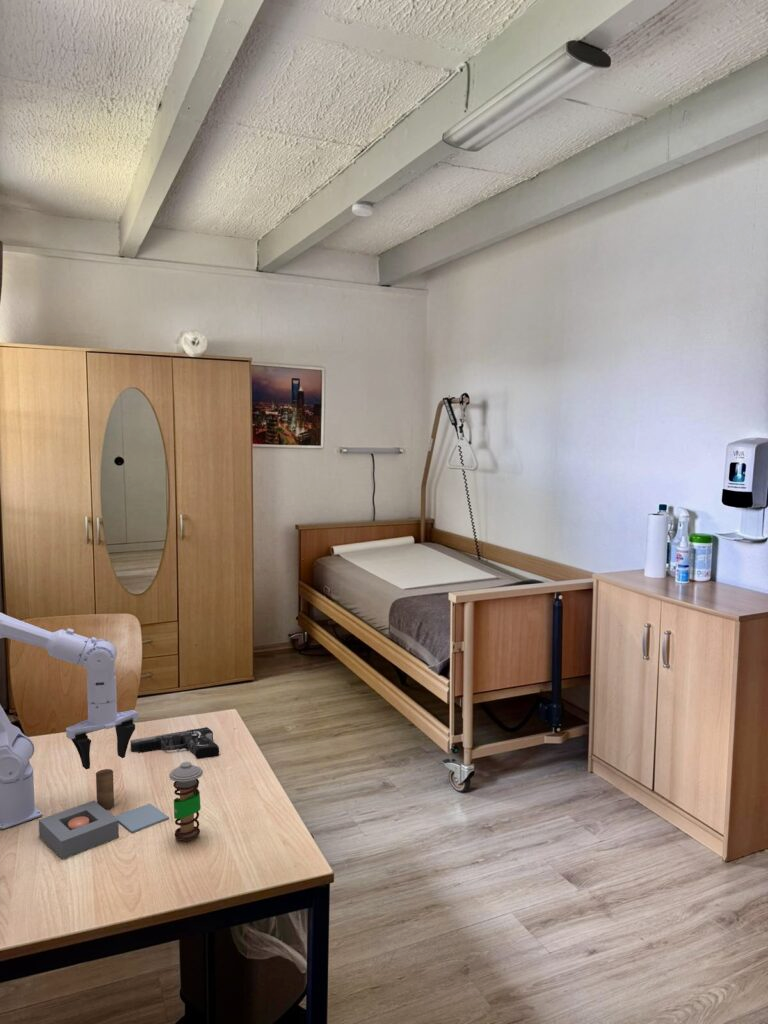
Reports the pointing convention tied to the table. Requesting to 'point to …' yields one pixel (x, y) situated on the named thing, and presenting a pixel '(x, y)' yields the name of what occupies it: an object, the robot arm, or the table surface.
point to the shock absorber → (186, 800)
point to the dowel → (105, 788)
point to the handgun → (180, 742)
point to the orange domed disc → (77, 822)
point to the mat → (141, 818)
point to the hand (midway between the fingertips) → (104, 761)
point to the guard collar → (78, 829)
